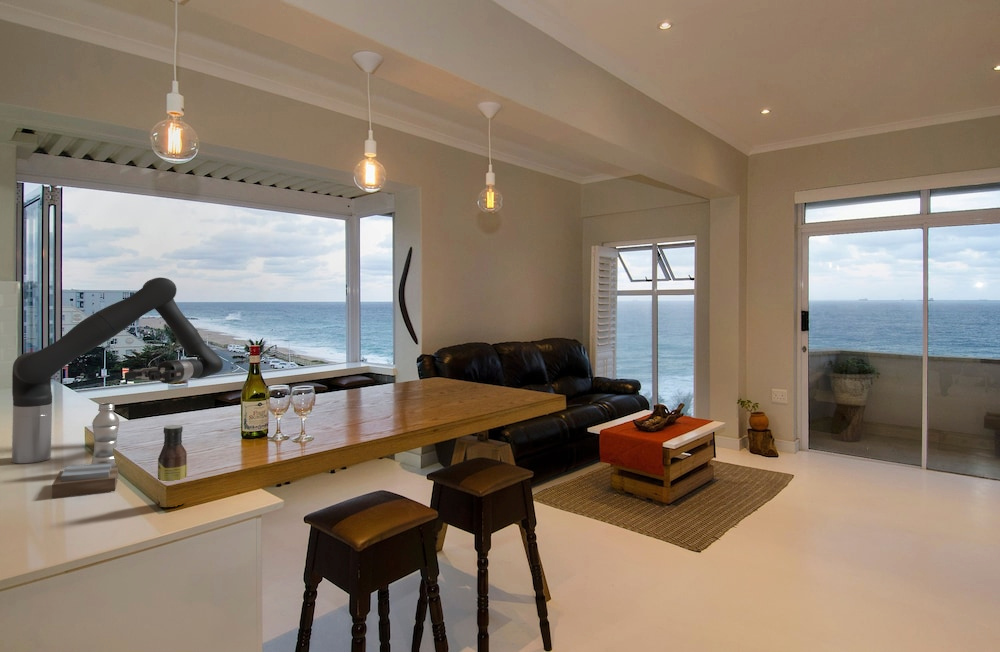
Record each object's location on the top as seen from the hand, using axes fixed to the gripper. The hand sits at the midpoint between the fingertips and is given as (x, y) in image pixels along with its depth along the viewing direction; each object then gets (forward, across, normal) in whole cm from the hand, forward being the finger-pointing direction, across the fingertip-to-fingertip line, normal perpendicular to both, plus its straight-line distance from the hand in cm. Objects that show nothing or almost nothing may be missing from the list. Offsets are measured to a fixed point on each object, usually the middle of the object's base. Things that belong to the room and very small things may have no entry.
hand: (137, 376), depth 171 cm
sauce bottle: (+31, +37, +27) cm, 55 cm away
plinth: (+25, +7, +27) cm, 37 cm away
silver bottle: (+12, 0, +27) cm, 29 cm away
